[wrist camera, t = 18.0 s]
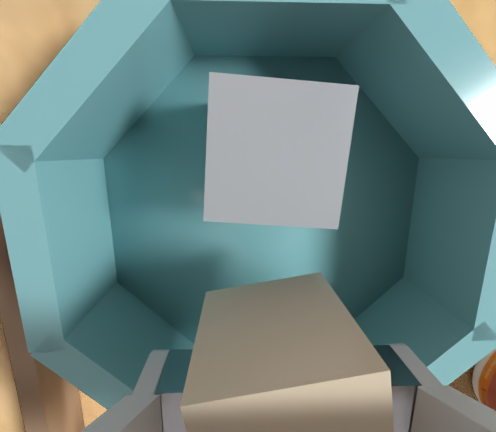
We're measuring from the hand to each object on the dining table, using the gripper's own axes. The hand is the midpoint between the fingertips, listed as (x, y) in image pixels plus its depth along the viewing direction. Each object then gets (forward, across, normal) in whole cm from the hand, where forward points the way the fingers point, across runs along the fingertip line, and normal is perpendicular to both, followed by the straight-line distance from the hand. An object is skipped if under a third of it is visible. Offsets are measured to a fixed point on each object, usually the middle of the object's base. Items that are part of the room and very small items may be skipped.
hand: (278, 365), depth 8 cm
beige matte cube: (+2, 0, 0) cm, 2 cm away
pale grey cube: (+5, 0, -6) cm, 8 cm away
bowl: (+6, 0, -3) cm, 7 cm away
